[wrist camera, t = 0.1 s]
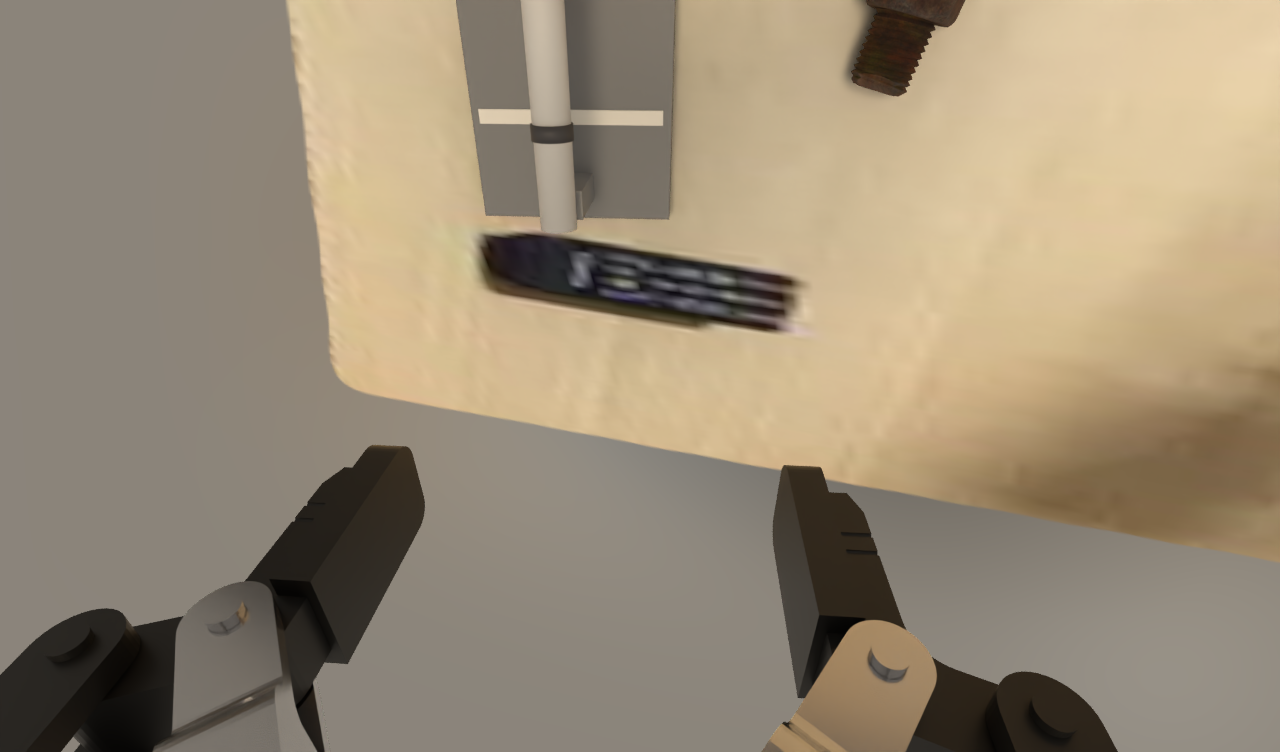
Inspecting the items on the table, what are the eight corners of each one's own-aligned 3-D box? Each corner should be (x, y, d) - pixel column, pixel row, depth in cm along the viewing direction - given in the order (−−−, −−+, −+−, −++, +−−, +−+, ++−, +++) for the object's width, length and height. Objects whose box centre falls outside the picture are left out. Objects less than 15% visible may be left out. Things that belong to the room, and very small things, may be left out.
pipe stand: (431, -253, 28) (345, -345, 21) (682, -261, 27) (680, -358, 20) (492, 209, 39) (450, 249, 32) (669, 212, 38) (665, 254, 31)
